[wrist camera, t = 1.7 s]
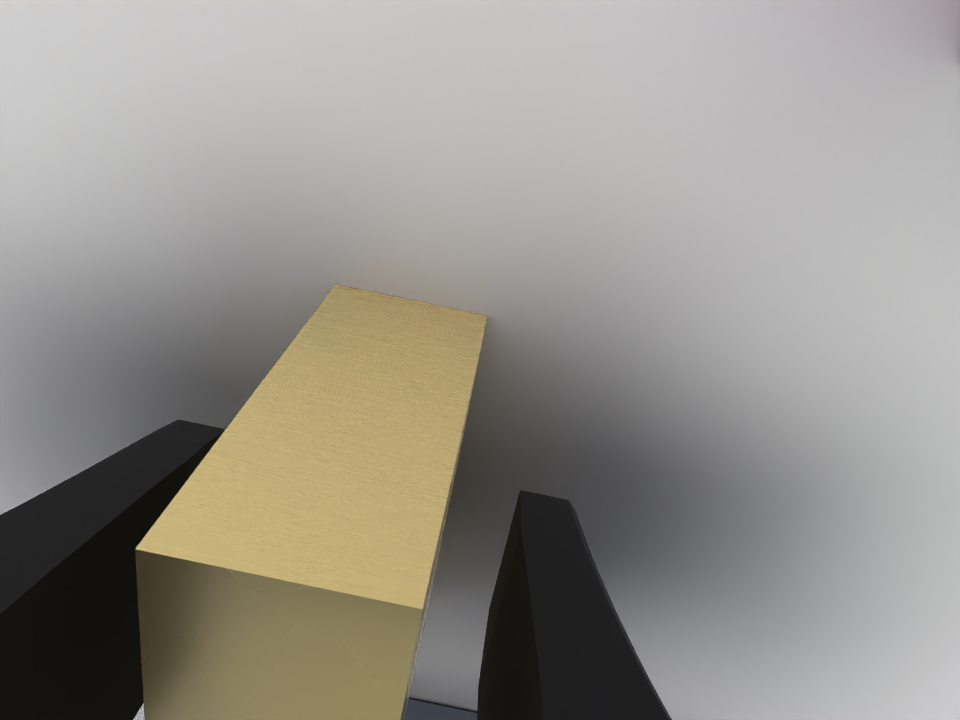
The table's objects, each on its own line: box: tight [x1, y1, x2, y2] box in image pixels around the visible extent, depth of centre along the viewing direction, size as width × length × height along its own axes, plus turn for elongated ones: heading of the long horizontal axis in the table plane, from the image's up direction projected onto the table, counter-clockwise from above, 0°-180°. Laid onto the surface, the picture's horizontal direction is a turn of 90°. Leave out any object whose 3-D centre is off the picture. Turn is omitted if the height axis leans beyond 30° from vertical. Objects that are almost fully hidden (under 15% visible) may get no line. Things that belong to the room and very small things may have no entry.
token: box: [135, 284, 488, 720], centre depth 8 cm, size 5×2×5 cm, turn 170°
